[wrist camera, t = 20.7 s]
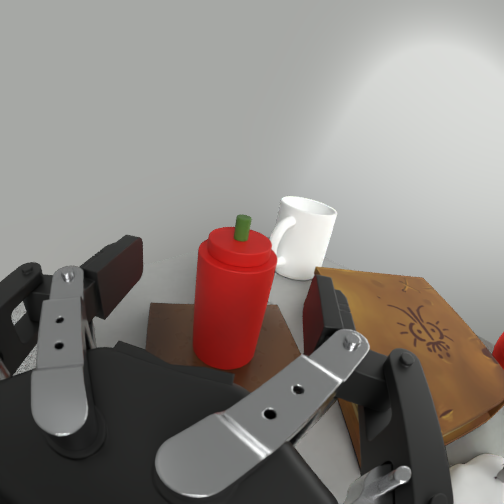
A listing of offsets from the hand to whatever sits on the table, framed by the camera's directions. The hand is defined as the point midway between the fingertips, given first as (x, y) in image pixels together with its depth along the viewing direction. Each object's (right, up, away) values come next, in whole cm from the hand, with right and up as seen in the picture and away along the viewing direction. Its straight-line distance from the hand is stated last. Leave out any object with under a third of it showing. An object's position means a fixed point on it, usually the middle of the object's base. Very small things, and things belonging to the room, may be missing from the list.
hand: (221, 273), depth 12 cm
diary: (+18, -12, +13) cm, 25 cm away
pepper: (-1, -7, +11) cm, 13 cm away
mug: (+7, -2, +29) cm, 30 cm away
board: (-1, -9, +12) cm, 15 cm away
